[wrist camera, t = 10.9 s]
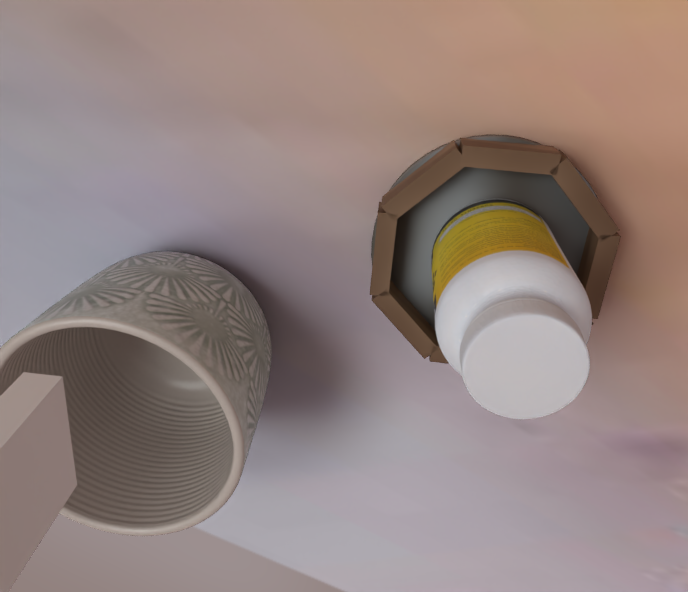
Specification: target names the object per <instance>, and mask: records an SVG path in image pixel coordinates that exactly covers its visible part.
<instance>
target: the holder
mask: <svg viewBox="0 0 688 592" xmlns="http://www.w3.org/2000/svg"><path fill="white" fill-rule="evenodd" d="M486 199H507V200H512V201H515V202H519V203H521V204H523V205H525V206H527V207H529V208H531V209H532V210H534V211H535V212H536V213H537V214H538V215H540V216H541V217H542V219H543V220H544V221H545V222H546V224H547V225H548V227H549V228H550V230H551V232H552V234H553V235H554V238H555V240H556V241H557V243H558V245H559V247H560V248H561V250H562V252H563V253H564V255H565V257H566V258H567V260H568V262H569V264H570V265H571V267H572V269H573V270H574V272H575V274H576V275H577V277H578V279H579V280H580V282H581V284H582V285H583V287H584V289H585V291H586V293H587V296H588V298H589V302H590V305H591V311H592V318H593V319H598V315H599V312H600V308H601V304H602V301H603V297H604V294H605V290H606V287H607V283H608V280H609V276H610V273H611V269H612V265H613V262H614V258H615V255H616V251H617V248H618V244H619V241H620V237H621V236H620V235H619V234H618V233H617V232H618V231H619V229H618V227H617V226H616V224H615V223H614V222H613V220H612V219H611V218H610V216H609V215H608V213H607V212H606V211H605V209H604V208H603V206H602V205H601V204H600V202H599V201H598V199H597V196H596V194H595V193H594V191H593V189H592V188H591V186H590V185H589V183H588V182H587V180H586V179H585V178H584V177H583V176H582V174H581V173H580V172H579V171H578V170H577V169H576V168H575V167H574V166H573V165H572V163H571V162H570V161H569V159H568V158H567V157H566V156H565V155H564V154H563V153H562V152H561V151H560V150H558V151H557V150H556V149H555V148H554V147H553V146H544V145H541V144H539V143H537V142H534V141H531V140H528V139H524V138H521V137H514V136H508V135H481V136H472V137H468V138H460V139H459V140H456V141H454V140H453V141H452V142H451V143H448V144H445V145H443V146H440V147H439V148H437V149H435V150H433V151H431V152H429V153H427V154H426V155H424V156H423V157H422V158H420V159H419V160H417V161H416V162H415V163H413V164H412V165H411V166H410V167H409V168H408V169H407V170H406V171H405V172H404V173H403V174H402V175H401V176H400V177H399V178H398V180H397V181H396V182H395V183H394V184H393V186H392V187H391V189H390V190H389V192H388V193H386V194H385V195H384V196H383V197H382V202H379V209H378V215H377V219H376V222H375V226H374V232H373V238H372V253H371V257H372V266H373V267H372V277H371V287H370V295H372V301H373V302H374V303H375V304H376V306H377V307H378V308H379V309H380V310H381V311H382V312H383V313H384V314H385V316H386V317H387V318H388V319H389V320H390V321H391V322H392V323H393V324H394V326H395V327H396V328H397V329H398V330H399V331H400V332H401V333H402V334H403V336H404V337H405V338H406V339H407V340H408V341H409V342H410V343H411V344H412V346H413V347H414V348H415V349H416V350H417V351H418V352H419V353H420V354H421V355H422V357H423V358H424V359H425V358H426V357H428V356H430V361H431V362H440V363H449V362H448V361H447V360H446V358H445V357H444V355H443V353H442V351H441V349H440V346H439V344H438V340H437V336H436V331H435V318H434V301H433V284H432V266H431V256H432V249H433V245H434V241H435V238H436V236H437V234H438V232H439V230H440V229H441V227H442V226H443V225H444V223H445V222H446V221H447V220H448V219H449V218H450V217H451V216H452V215H453V214H454V213H456V212H457V211H458V210H460V209H461V208H463V207H465V206H467V205H469V204H471V203H474V202H478V201H481V200H486ZM592 325H593V322H592Z"/></svg>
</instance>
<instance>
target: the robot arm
mask: <svg viewBox="0 0 688 592" xmlns="http://www.w3.org/2000/svg"><path fill="white" fill-rule="evenodd" d="M76 486H77V480H76V472H75V465H74V458H73V450H72V443H71V435H70V428H69V420H68V413H67V406H66V398H65V391H64V383H63V377H62V376H54V375H45V374H36V373H27V372H23V373H22V374H21V375H20V376H19V377H18V378H17V380H16V381H15V382H14V383H13V384H12V385H11V386H10V387H9V388H8V389H7V390H6V391H5V392H4V393H3V394H2V395H1V396H0V592H9V590H10V589H11V587H12V586H13V584H14V583H15V581H16V580H17V578H18V576H19V575H20V573H21V572H22V570H23V569H24V567H25V565H26V564H27V562H28V561H29V559H30V558H31V556H32V555H33V553H34V551H35V550H36V548H37V547H38V545H39V544H40V542H41V541H42V539H43V537H44V535H45V534H46V533H47V531H48V530H49V528H50V526H51V525H52V523H53V522H54V520H55V519H56V517H57V516H58V514H59V512H60V511H61V509H62V508H63V506H64V505H65V503H66V502H67V500H68V498H69V497H70V495H71V494H72V492H73V491H74V489H75V487H76Z"/></svg>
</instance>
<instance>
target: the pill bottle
mask: <svg viewBox="0 0 688 592" xmlns="http://www.w3.org/2000/svg"><path fill="white" fill-rule="evenodd" d="M431 266H432V284H433V301H434V318H435V331H436V336H437V340H438V344H439V346H440V349H441V351H442V353H443V355H444V357H445V358H446V360H447V361H448V362H449V364H450V365H451V366H452V367H453V368H454V369H455V371H457V372H458V373H459V374H460V375H461V376H462V377H463V381H464V384H465V386H466V388H467V390H468V392H469V393H470V395H471V396H472V398H473V399H474V400H475V401H476V402H477V403H478V404H479V405H480V406H482V407H483V408H485V409H486V410H488V411H490V412H492V413H494V414H496V415H499V416H502V417H506V418H511V419H535V418H540V417H544V416H547V415H550V414H552V413H555V412H557V411H559V410H561V409H562V408H564V407H565V406H567V405H568V404H569V403H571V402H572V401H573V400H574V399H575V398H576V397H577V396H578V394H579V393H580V392H581V390H582V389H583V387H584V385H585V383H586V381H587V378H588V375H589V369H590V357H589V352H588V349H587V346H586V345H587V342H588V340H589V337H590V333H591V326H592V311H591V305H590V302H589V298H588V296H587V293H586V291H585V289H584V287H583V285H582V284H581V282H580V280H579V279H578V277H577V275H576V274H575V272H574V270H573V269H572V267H571V265H570V264H569V262H568V260H567V258H566V257H565V255H564V253H563V252H562V250H561V248H560V247H559V245H558V243H557V241H556V240H555V238H554V235H553V234H552V232H551V230H550V228H549V227H548V225H547V224H546V222H545V221H544V220H543V219H542V217H541V216H540V215H538V214H537V213H536V212H535V211H534V210H532V209H531V208H529V207H527V206H525V205H523V204H521V203H519V202H515V201H512V200H507V199H486V200H481V201H478V202H474V203H471V204H469V205H467V206H465V207H463V208H461V209H460V210H458V211H457V212H456V213H454V214H453V215H452V216H451V217H450V218H449V219H448V220H447V221H446V222H445V223H444V225H443V226H442V227H441V229H440V230H439V232H438V234H437V236H436V238H435V241H434V245H433V249H432V256H431Z"/></svg>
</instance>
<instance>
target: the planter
mask: <svg viewBox="0 0 688 592" xmlns="http://www.w3.org/2000/svg"><path fill="white" fill-rule="evenodd" d="M270 367H271V339H270V332H269V329H268V325H267V322H266V319H265V316H264V314H263V312H262V310H261V308H260V306H259V304H258V303H257V301H256V300H255V298H254V296H253V295H252V294H251V293H250V291H249V290H248V289H247V288H246V287H245V286H244V285H243V283H242V282H241V281H239V280H238V279H237V278H236V277H235V276H234V275H232V274H231V273H230V272H228V271H227V270H225V269H224V268H222V267H220V266H219V265H217V264H215V263H213V262H211V261H209V260H206V259H204V258H201V257H198V256H194V255H191V254H186V253H180V252H169V251H161V252H150V253H145V254H140V255H136V256H133V257H130V258H127V259H125V260H122V261H120V262H118V263H116V264H114V265H112V266H110V267H108V268H106V269H104V270H103V271H101V272H99V273H98V274H96V275H95V276H93V277H92V278H90V279H89V280H87V281H86V282H84V283H83V284H81V285H80V286H79V287H77V288H76V289H74V290H73V291H71V292H70V293H69V294H68V295H66V296H65V297H64V298H62V299H61V300H60V301H58V302H57V303H56V304H54V305H53V306H52V307H50V308H49V309H48V310H46V311H45V312H44V313H43V314H41V315H40V316H39V317H37V318H36V319H35V320H34V321H32V322H31V323H30V324H28V325H27V326H26V327H25V328H23V329H22V330H21V331H19V332H18V333H17V334H16V335H14V336H13V337H11V338H10V339H9V340H8V341H7V342H6V343H5V344H4V345H3V346H2V347H1V348H0V396H1V395H2V394H3V393H4V392H5V391H6V390H7V389H8V388H9V387H10V386H11V385H12V384H13V383H14V382H15V381H16V380H17V378H18V377H19V376H20V375H21V374H22V373H23V372H27V373H36V374H45V375H54V376H62V377H63V383H64V391H65V398H66V406H67V413H68V420H69V428H70V435H71V443H72V450H73V458H74V465H75V472H76V480H77V486H76V487H75V489H74V491H73V492H72V494H71V495H70V497H69V498H68V500H67V502H66V503H65V505H64V506H63V508H62V509H61V511H60V512H59V514H61V515H63V516H65V517H67V518H69V519H71V520H73V521H76V522H79V523H80V524H83V525H86V526H89V527H92V528H94V529H98V530H102V531H106V532H110V533H116V534H122V535H132V536H154V535H163V534H169V533H173V532H178V531H181V530H184V529H187V528H189V527H192V526H194V525H196V524H198V523H201V522H202V521H204V520H206V519H207V518H209V517H210V516H212V515H213V514H214V513H215V512H217V511H218V510H219V509H220V508H221V507H222V506H223V505H224V504H225V503H226V502H227V501H228V499H229V498H230V496H231V495H232V494H233V492H234V490H235V488H236V487H237V485H238V483H239V480H240V477H241V475H242V471H243V468H244V464H245V461H246V458H247V455H248V452H249V448H250V445H251V442H252V439H253V436H254V432H255V429H256V426H257V422H258V419H259V416H260V412H261V409H262V405H263V401H264V397H265V393H266V389H267V385H268V380H269V374H270Z"/></svg>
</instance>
